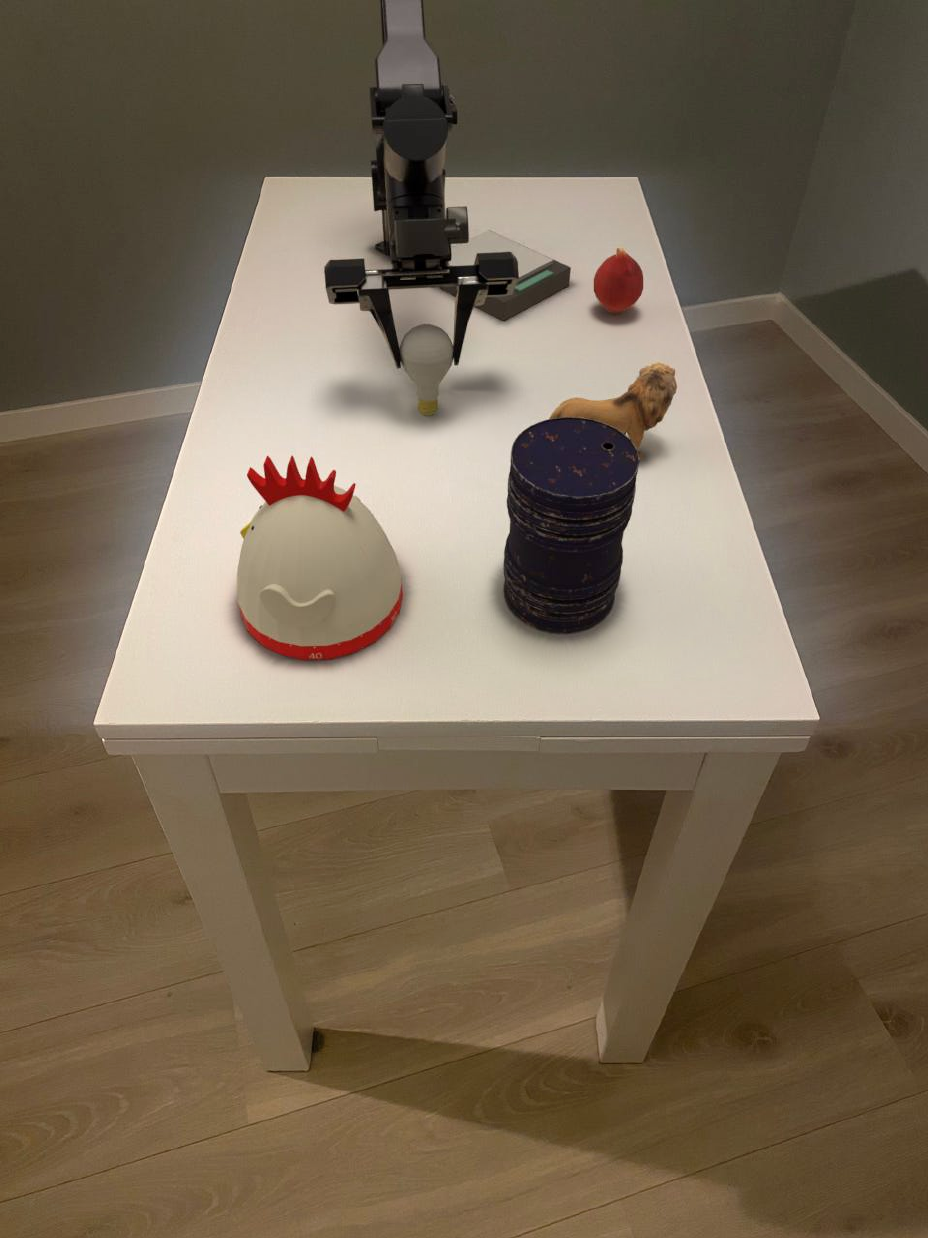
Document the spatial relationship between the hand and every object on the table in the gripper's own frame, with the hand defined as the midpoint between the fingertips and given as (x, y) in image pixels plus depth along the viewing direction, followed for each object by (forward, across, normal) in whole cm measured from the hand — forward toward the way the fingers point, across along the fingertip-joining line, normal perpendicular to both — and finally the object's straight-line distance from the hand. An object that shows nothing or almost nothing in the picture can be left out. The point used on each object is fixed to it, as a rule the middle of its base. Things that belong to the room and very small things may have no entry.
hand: (427, 366), depth 93 cm
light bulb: (+4, 0, +6) cm, 7 cm away
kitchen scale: (-15, +11, +24) cm, 31 cm away
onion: (-9, +24, +19) cm, 32 cm away
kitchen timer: (+22, -11, -12) cm, 28 cm away
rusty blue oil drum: (+23, +9, -14) cm, 28 cm away
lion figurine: (+10, +17, 0) cm, 19 cm away
